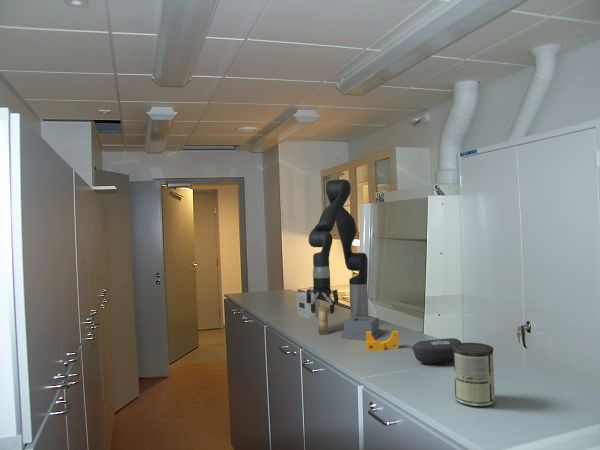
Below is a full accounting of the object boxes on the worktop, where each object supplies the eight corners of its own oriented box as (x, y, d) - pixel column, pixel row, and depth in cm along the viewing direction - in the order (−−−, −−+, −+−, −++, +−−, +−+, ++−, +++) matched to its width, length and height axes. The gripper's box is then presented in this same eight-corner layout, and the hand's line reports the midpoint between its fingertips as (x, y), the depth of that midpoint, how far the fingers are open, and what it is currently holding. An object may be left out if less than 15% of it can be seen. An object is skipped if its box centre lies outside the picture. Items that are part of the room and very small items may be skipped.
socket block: (351, 330, 218) (351, 315, 218) (382, 332, 213) (381, 316, 213) (341, 338, 205) (340, 321, 205) (373, 340, 199) (372, 323, 199)
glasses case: (421, 369, 159) (420, 345, 159) (407, 360, 169) (406, 338, 169) (470, 363, 163) (469, 340, 163) (453, 355, 173) (452, 334, 173)
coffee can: (449, 393, 135) (447, 343, 135) (485, 391, 135) (483, 341, 135) (462, 407, 125) (460, 352, 125) (502, 405, 125) (500, 351, 125)
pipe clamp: (367, 350, 184) (366, 333, 184) (366, 347, 188) (365, 331, 188) (399, 350, 183) (398, 333, 183) (397, 347, 187) (397, 330, 188)
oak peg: (320, 333, 216) (320, 306, 216) (329, 333, 215) (328, 306, 215) (317, 335, 213) (316, 307, 213) (326, 335, 211) (325, 308, 211)
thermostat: (297, 315, 262) (296, 287, 262) (320, 312, 268) (319, 285, 268) (307, 318, 251) (306, 289, 251) (331, 315, 257) (330, 287, 257)
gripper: (339, 275, 214) (340, 312, 214) (309, 275, 220) (310, 311, 220) (333, 277, 207) (335, 315, 207) (303, 277, 213) (304, 313, 213)
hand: (322, 313), depth 213 cm, fingers open, 8 cm apart
